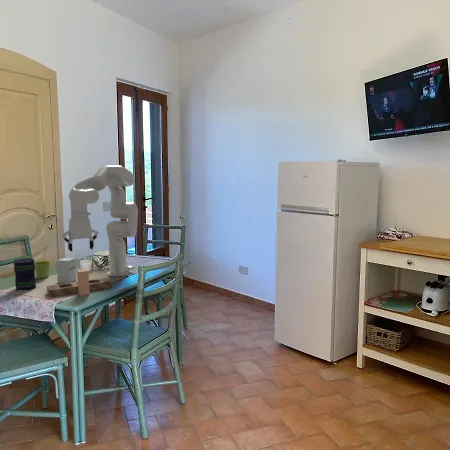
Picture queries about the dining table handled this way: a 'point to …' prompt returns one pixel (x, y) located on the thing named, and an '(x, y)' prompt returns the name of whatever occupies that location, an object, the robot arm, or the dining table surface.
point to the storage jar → (25, 274)
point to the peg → (83, 282)
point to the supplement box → (66, 270)
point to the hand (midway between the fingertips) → (81, 250)
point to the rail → (73, 287)
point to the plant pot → (42, 269)
